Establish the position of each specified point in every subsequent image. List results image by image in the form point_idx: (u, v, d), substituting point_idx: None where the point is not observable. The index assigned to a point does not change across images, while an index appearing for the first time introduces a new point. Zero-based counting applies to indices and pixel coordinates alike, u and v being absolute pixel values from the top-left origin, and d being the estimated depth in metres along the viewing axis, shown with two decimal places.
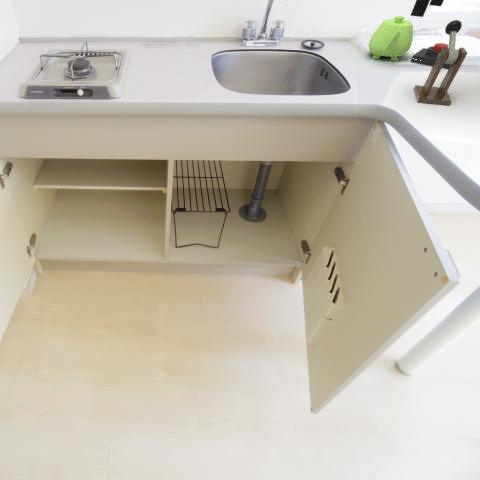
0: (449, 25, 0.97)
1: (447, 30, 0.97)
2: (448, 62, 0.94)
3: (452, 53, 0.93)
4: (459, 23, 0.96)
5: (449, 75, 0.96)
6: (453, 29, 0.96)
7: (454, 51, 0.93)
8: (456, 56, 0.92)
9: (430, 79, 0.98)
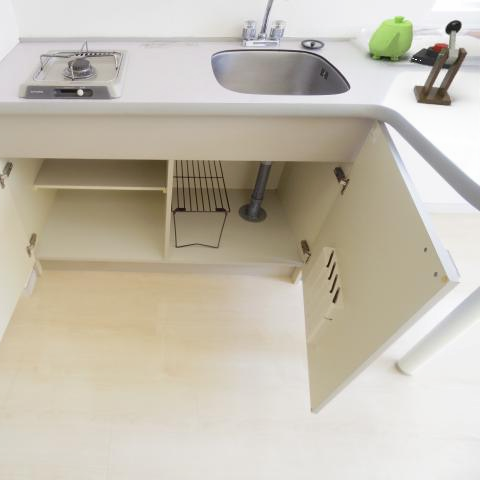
0: (449, 25, 0.97)
1: (447, 30, 0.97)
2: (448, 62, 0.94)
3: (452, 53, 0.93)
4: (459, 23, 0.96)
5: (449, 75, 0.96)
6: (453, 29, 0.96)
7: (454, 51, 0.93)
8: (456, 56, 0.92)
9: (430, 79, 0.98)
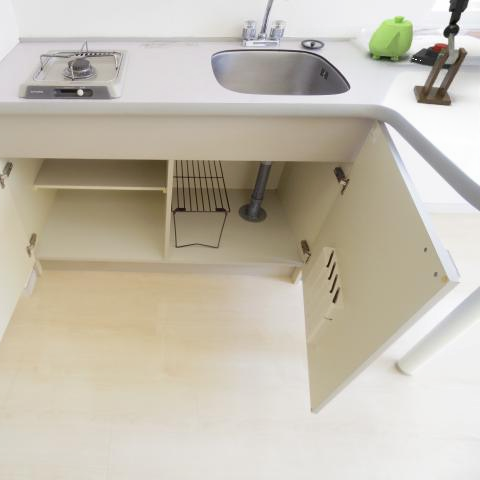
0: (447, 28, 0.98)
1: (445, 33, 0.98)
2: (448, 62, 0.94)
3: (452, 53, 0.93)
4: (457, 26, 0.96)
5: (449, 75, 0.96)
6: (451, 32, 0.97)
7: (454, 50, 0.93)
8: (456, 55, 0.92)
9: (430, 79, 0.98)
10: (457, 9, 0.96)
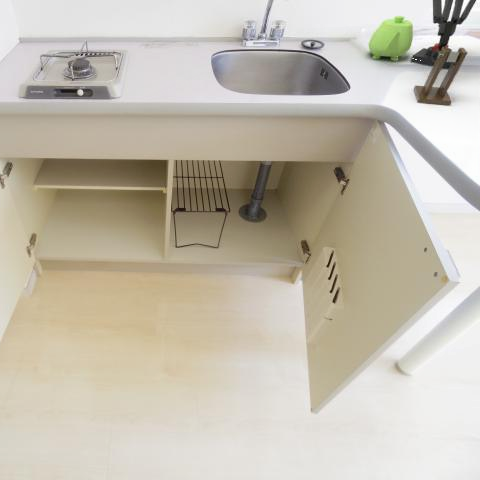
0: (435, 51, 1.02)
1: (434, 55, 1.02)
2: (450, 59, 0.93)
3: None
4: None
5: (449, 75, 0.96)
6: None
7: None
8: (457, 52, 0.92)
9: (430, 79, 0.98)
10: (445, 33, 1.00)
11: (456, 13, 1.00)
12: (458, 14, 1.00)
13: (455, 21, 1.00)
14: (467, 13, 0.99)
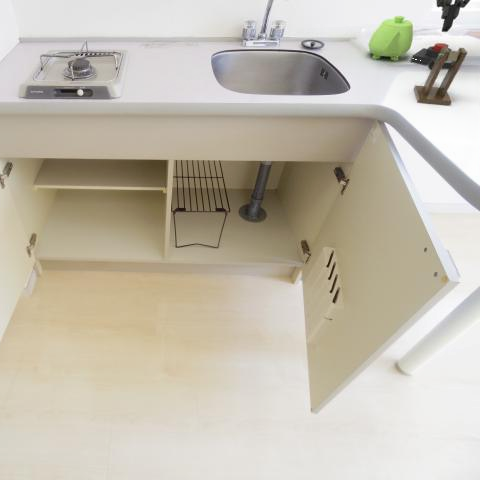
0: (432, 60, 1.04)
1: (431, 63, 1.03)
2: (451, 58, 0.93)
3: None
4: None
5: (449, 75, 0.96)
6: None
7: None
8: (457, 51, 0.92)
9: (430, 79, 0.98)
10: (449, 16, 1.01)
11: None
12: None
13: (458, 4, 1.01)
14: None
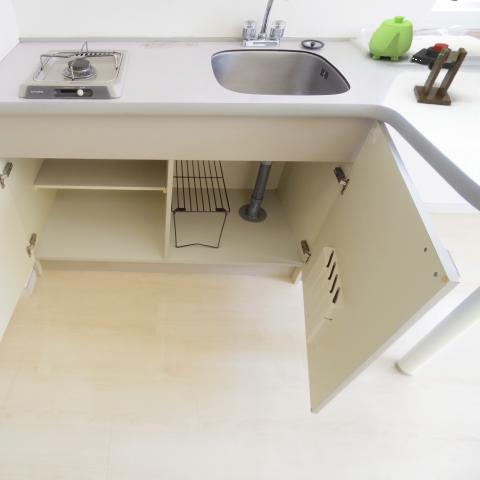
0: (432, 60, 1.04)
1: (431, 63, 1.03)
2: (451, 58, 0.93)
3: None
4: None
5: (449, 75, 0.96)
6: None
7: None
8: (457, 51, 0.92)
9: (430, 79, 0.98)
10: None
11: None
12: None
13: None
14: None
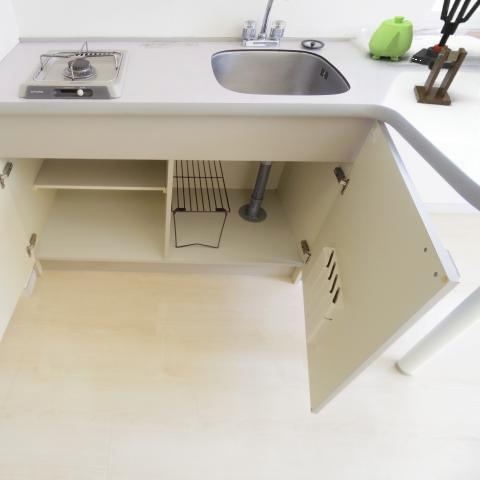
0: (432, 60, 1.04)
1: (431, 63, 1.03)
2: (451, 58, 0.93)
3: None
4: None
5: (449, 75, 0.96)
6: None
7: None
8: (457, 51, 0.92)
9: (430, 79, 0.98)
10: (443, 36, 1.16)
11: (458, 15, 1.11)
12: (460, 16, 1.10)
13: None
14: (468, 16, 1.09)
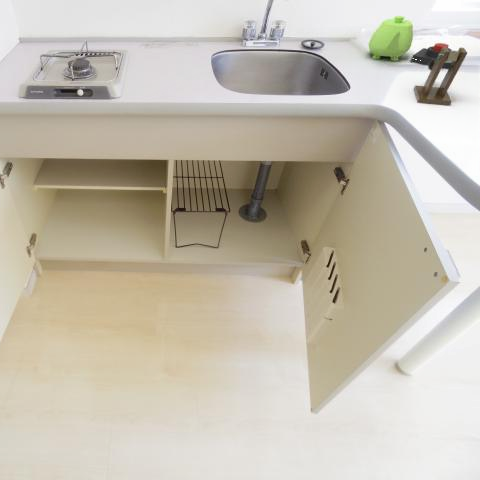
0: (432, 60, 1.04)
1: (431, 63, 1.03)
2: (451, 58, 0.93)
3: None
4: None
5: (449, 75, 0.96)
6: None
7: None
8: (457, 51, 0.92)
9: (430, 79, 0.98)
10: None
11: None
12: None
13: None
14: None
